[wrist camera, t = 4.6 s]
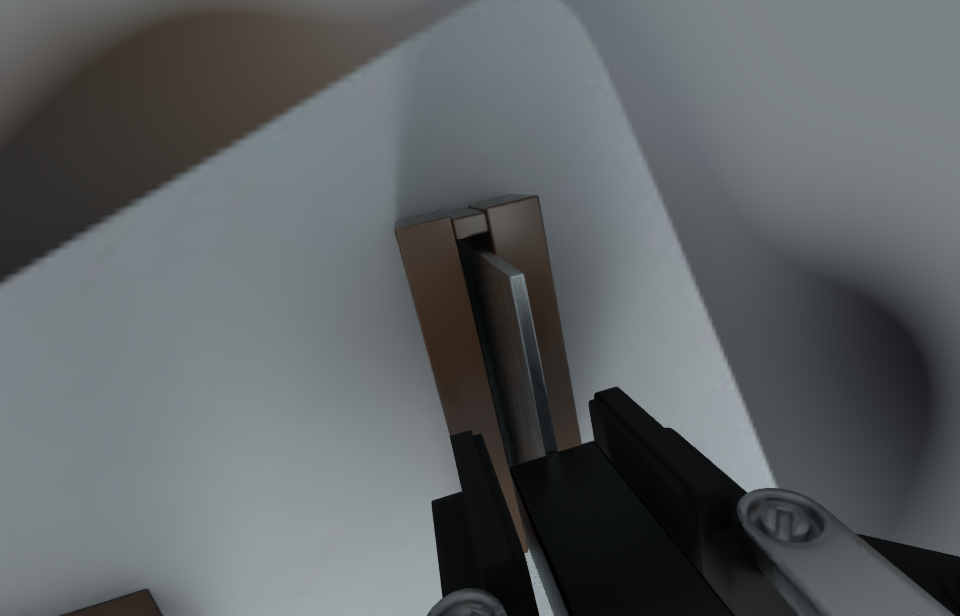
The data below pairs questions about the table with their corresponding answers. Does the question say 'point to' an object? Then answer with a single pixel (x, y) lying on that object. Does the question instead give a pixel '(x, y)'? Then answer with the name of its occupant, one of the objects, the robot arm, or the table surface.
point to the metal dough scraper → (572, 479)
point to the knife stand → (451, 325)
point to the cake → (123, 607)
